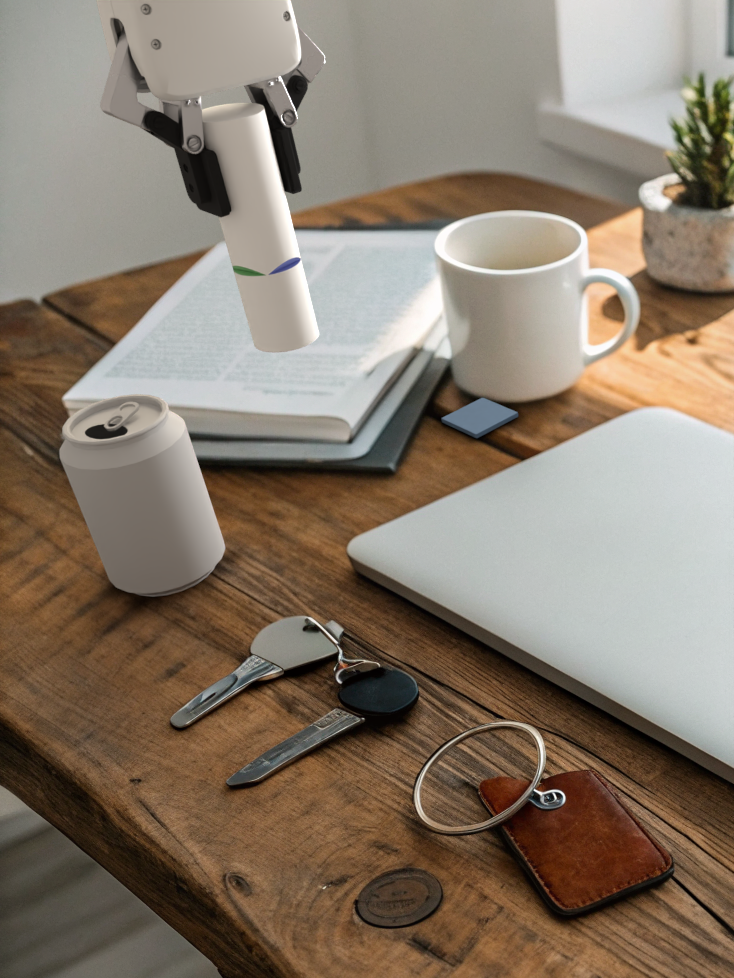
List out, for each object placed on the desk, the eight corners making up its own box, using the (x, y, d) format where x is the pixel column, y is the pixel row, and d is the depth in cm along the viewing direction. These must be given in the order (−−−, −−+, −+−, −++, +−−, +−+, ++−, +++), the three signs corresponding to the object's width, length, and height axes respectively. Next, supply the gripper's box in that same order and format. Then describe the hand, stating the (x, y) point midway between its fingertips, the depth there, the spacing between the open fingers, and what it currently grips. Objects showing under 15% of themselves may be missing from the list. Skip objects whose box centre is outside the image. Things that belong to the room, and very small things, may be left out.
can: (87, 593, 77) (21, 436, 71) (165, 531, 83) (110, 380, 77) (178, 613, 75) (118, 452, 68) (251, 547, 81) (203, 393, 74)
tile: (476, 438, 92) (476, 434, 92) (441, 422, 94) (440, 418, 94) (518, 416, 95) (518, 412, 94) (483, 401, 97) (482, 397, 97)
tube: (254, 331, 80) (192, 108, 72) (318, 321, 81) (264, 99, 73) (253, 356, 77) (188, 125, 69) (320, 346, 78) (263, 116, 69)
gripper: (263, -145, 71) (329, 156, 81) (-22, -112, 61) (94, 228, 71) (334, -144, 67) (394, 175, 77) (40, -107, 56) (154, 254, 67)
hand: (249, 197), depth 74 cm, fingers closed on tube, 4 cm apart
